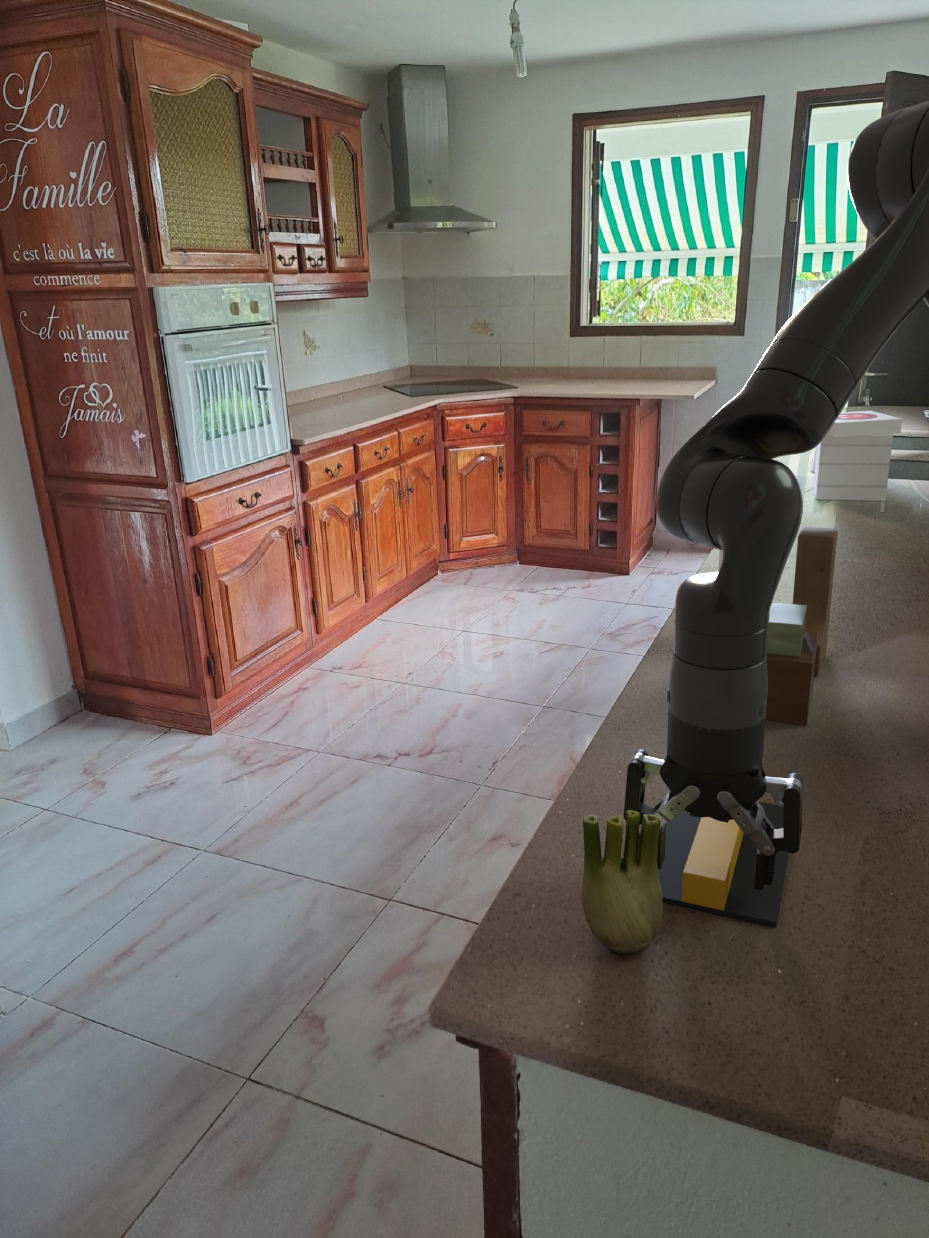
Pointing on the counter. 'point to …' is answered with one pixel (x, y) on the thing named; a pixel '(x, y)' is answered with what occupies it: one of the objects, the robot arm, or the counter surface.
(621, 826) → the fennel bulb
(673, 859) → the mat
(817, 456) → the pizza boxes
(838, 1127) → the counter surface
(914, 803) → the counter surface
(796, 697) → the green-topped brown box
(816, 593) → the wooden block
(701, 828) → the bar
